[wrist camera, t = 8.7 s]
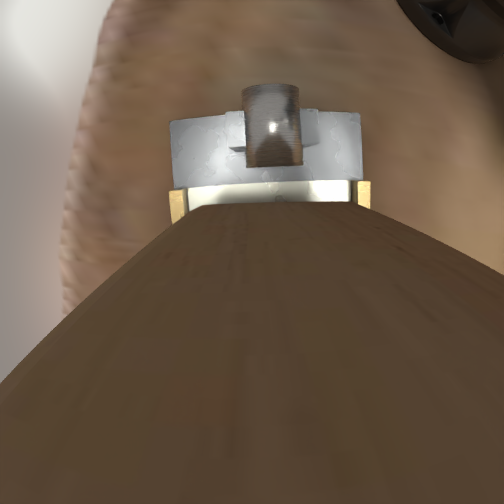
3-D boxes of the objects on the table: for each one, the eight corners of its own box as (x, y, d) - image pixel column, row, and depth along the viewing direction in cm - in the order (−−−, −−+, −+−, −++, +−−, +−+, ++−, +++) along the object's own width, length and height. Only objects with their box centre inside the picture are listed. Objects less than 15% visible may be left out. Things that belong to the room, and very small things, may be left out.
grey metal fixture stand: (174, 121, 23) (130, 100, 14) (353, 113, 23) (405, 91, 14) (201, 358, 30) (184, 427, 20) (349, 348, 29) (378, 413, 20)
